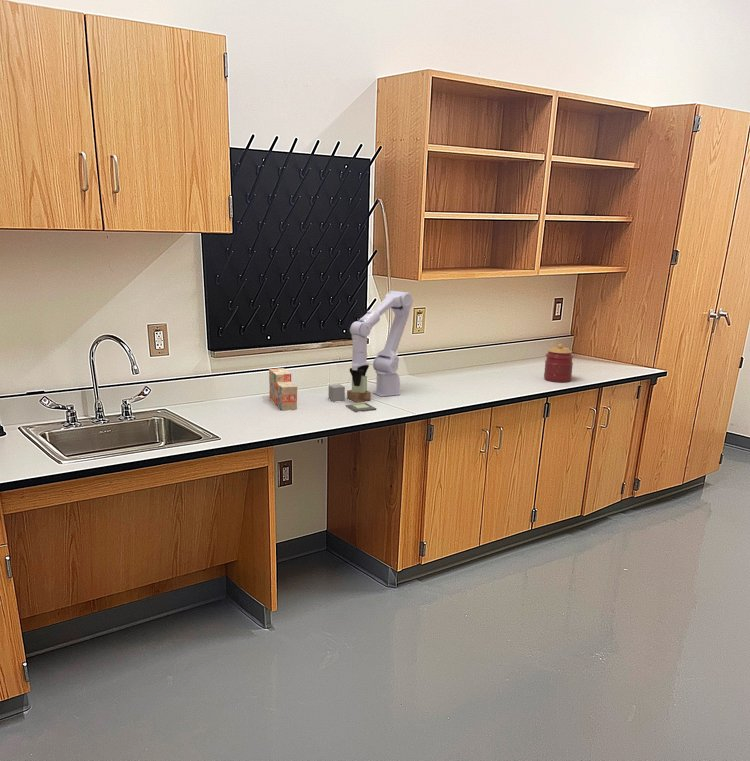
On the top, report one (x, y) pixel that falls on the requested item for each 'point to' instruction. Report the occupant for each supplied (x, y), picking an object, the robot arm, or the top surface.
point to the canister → (558, 364)
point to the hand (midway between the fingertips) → (359, 384)
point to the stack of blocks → (282, 389)
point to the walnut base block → (358, 396)
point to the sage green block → (362, 387)
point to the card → (360, 407)
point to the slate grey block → (336, 393)
